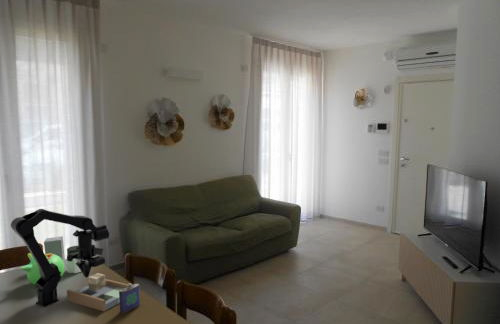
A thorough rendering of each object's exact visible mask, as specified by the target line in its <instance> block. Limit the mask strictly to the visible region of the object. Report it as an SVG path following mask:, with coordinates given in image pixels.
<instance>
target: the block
mask: <svg viewBox="0 0 500 324" xmlns="http://www.w3.org/2000/svg"><path fill="white" fill-rule="evenodd" d="M87 279H88V281H87V282H88V285H89V288H91V289H95V290H98V289H100V288H102V287H104V286H106V282H105V279H106V274H103V273H100V272H99V273H98V272H97V273H95V274H91V275H90V276H88V277H87Z"/></svg>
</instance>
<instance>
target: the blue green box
mask: <svg viewBox="0 0 500 324" xmlns="http://www.w3.org/2000/svg"><path fill="white" fill-rule="evenodd" d="M127 284H128V286H127V288H125V289H123V288H122V289H121V290H120V291H119V300H120V303H119V309H120V311H119V312H120V314H125V313H128V312H131V311H133V310H134V309H137V308H138V307H139V306H141V299H140V298H141V297H140V295H141V294H140V284H139V283H134V284H133V283H130V282H128V283H127Z"/></svg>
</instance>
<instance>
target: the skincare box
mask: <svg viewBox="0 0 500 324" xmlns="http://www.w3.org/2000/svg"><path fill="white" fill-rule="evenodd" d="M43 244H44V245H43V246H44V254H49V253H52V254H55V255H57V256H59V257H60V258H61V259H62V260H63V262H64V266H65V265H66V256H65V248H64V247H65V246H64V237H63V236H55V237H46V238H45V240H44V241H43Z"/></svg>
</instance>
